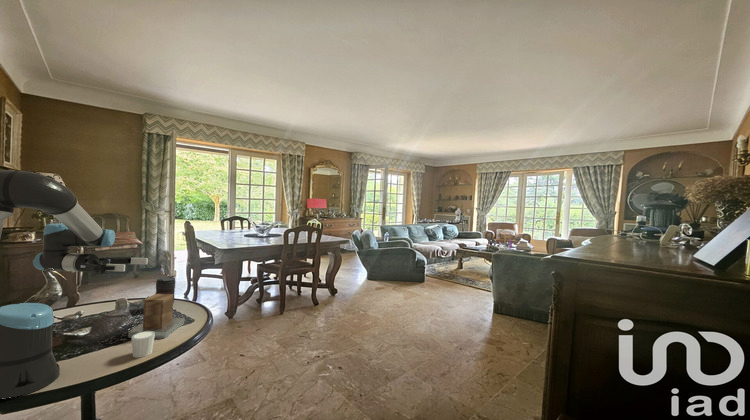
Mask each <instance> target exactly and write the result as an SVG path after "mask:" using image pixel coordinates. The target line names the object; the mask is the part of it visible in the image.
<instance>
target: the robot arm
mask: <svg viewBox="0 0 750 420" xmlns="http://www.w3.org/2000/svg"><path fill="white" fill-rule="evenodd" d="M15 209H34V210H39V211H41V212H42V213H44V214H46V215H50V216H53V217H54V218H55V219H57V221H59V222H60V223H47V224H45V225H44V229H43V235H42V236H43V237H42V238H43V239H42V240H43V241H42V242H43V243H42V251H41V252H39V253H38V254H36V255H35V256H34V259H33V260H32V265H33V268H35V269H37V270H39V271H45V270H44V269H47V270H49V271H48V272H71V273H72V274H74V273H75V272H81V273H90V272H92V273H101V274H105V273H106V271H107V272H121V273H122V272H126V265H127V264H130V265H148V262H149V260H148V259H149V258H148V257H135V256H134V255H131V256H115V257H110V256H107V257H98V256H97V254H95V253H81V252H80V253H79V252H70V250H71V248H72V247H73V248H75V247H76V248H105V247H112V246H113V245H114V243H115V241H116V233H115V231H114V230H113V229H107V228H105V229H103V228H102V226H100V225H99V224H98V223H97V222H96V221H95V219H93V217H92V216H91V215H90V214H89V213H88V212H87V211H86V210H85V209H84V208H83V207H82V206H81V205H80V204H79V203H78V197H77V196H76V194H75V193H74V192H73V191H72V190H71V189H70V188H68V187H67V186H65V184H64V185H63V184H62V183H60V182H59V181H57V180H55V179H53V178H51V177H49V176H47V175H44V174H41V173H38V172H33V171H27V170H12V169H11V170H10V169H0V239H1V237H2V232H3V228H4V222H5V220H6V219H7V218H9V217H11V216H13V215H14V210H15ZM48 268H53V269H54V270H53V269H48ZM52 270H53V271H52ZM54 322H55V318H54V311H53V308H52V307H51V306H49V305H48V304H44V303H40V302H39V303H38V302H21V303H15V304H14V303H12V304H7V305H3V306H0V399H2V398H9V397H15V398H18V397H17V396H19V397H22V396H25V395H27V394H28V395H29V394H31V393H34V392H36V391H38V390H42V389H44V388H45V387H47V386H48V385H51V384H52V383H54V382H55V381H56V380H57V379H58V378H59V377H60V371H61V370H60V369H61V368H60V364H58V363H57V359H56V358H55V355H54V353H53V341H54V339H53V337H54ZM21 395H22V396H21Z"/></svg>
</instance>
